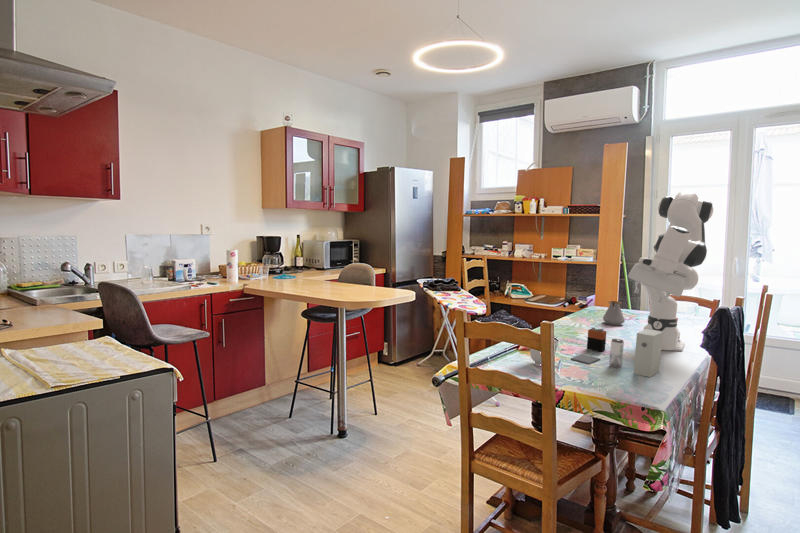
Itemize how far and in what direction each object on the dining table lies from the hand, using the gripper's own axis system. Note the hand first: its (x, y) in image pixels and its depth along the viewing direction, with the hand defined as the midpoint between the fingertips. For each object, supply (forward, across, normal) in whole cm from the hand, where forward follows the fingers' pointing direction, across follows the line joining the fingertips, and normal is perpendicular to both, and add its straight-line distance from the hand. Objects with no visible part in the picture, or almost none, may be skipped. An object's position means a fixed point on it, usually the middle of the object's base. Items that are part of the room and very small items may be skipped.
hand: (647, 297), depth 188 cm
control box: (+26, -10, +10) cm, 30 cm away
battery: (+33, +9, -14) cm, 37 cm away
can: (+30, 0, +8) cm, 31 cm away
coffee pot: (+31, +6, -74) cm, 80 cm away
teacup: (+38, +25, +21) cm, 51 cm away
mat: (+33, +11, +5) cm, 36 cm away
